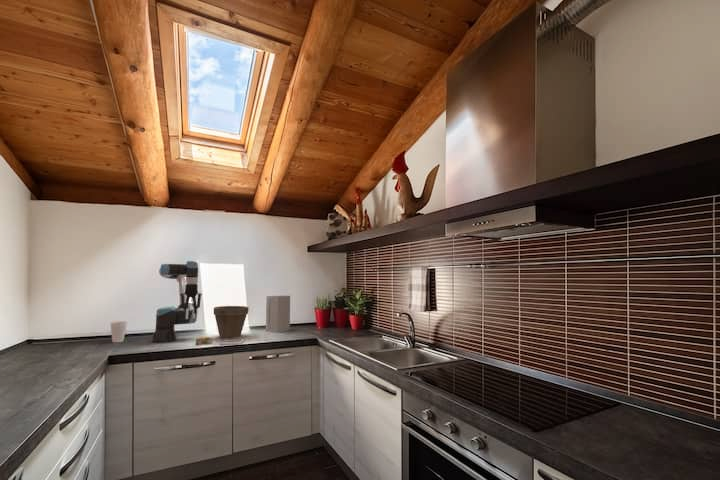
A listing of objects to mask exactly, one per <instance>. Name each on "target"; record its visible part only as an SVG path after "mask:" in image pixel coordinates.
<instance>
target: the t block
mask: <svg viewBox="0 0 720 480" xmlns="http://www.w3.org/2000/svg"><path fill="white" fill-rule="evenodd" d="M213 342H214V341H213V336H199V337H196V338H195V346H200V345H208V344H209V345H212V344H213Z"/></svg>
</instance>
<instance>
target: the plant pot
mask: <svg viewBox="0 0 720 480" xmlns="http://www.w3.org/2000/svg"><path fill="white" fill-rule="evenodd" d="M248 314H249V306H245V305H244V306H243V305H221V306H215V307H213V315H214V317H215V318H214V319H215V322H216V327H217V332H218V335H219V337H220V338H222V339H234V338H239V337H241V335H242V331H243V328H244V325H245V322H246V318H247V315H248Z"/></svg>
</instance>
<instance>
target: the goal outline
mask: <svg viewBox="0 0 720 480" xmlns="http://www.w3.org/2000/svg"><path fill="white" fill-rule="evenodd" d="M223 342H224V343H223ZM223 342H221V343H219V346H231V345H233V346H234V345H235V346H237V345H241V346H242V344H243V343H245V342H246V340H245V339H224V340H223ZM226 342H227V343H226Z"/></svg>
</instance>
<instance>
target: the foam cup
mask: <svg viewBox="0 0 720 480" xmlns="http://www.w3.org/2000/svg"><path fill="white" fill-rule="evenodd" d="M127 325H128V322H127V321H124V320H123V321H112V322H110V330H111V331H110V332H111V341H112V342H111V343H122V342H124V340H125V333H126V329H127Z"/></svg>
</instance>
